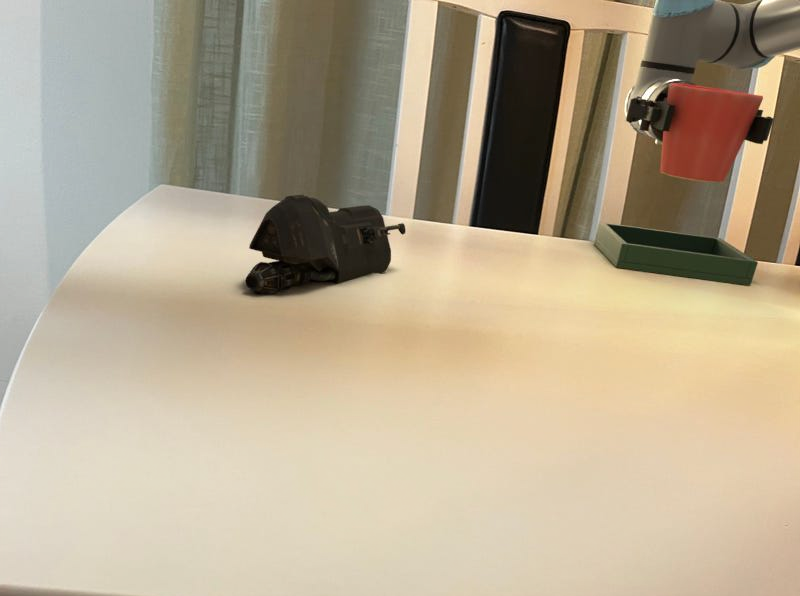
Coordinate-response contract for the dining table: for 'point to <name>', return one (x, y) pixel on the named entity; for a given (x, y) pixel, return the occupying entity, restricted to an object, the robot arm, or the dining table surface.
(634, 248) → the plant tray
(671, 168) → the flower pot
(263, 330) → the dining table surface
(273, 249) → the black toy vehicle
